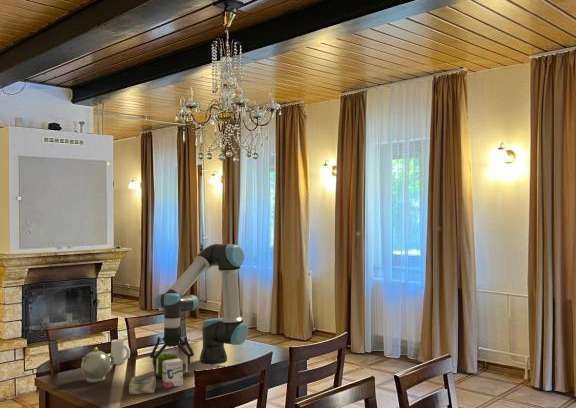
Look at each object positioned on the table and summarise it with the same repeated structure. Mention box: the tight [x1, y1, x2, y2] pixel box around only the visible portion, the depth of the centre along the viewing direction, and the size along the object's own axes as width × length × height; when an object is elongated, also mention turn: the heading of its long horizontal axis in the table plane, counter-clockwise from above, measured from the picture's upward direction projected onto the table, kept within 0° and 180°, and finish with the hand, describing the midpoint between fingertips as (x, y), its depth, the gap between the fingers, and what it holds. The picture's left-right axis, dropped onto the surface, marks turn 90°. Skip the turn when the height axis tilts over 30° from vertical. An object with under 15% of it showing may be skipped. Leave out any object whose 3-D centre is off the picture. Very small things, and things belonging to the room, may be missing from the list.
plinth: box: [128, 375, 157, 395], centre depth 265 cm, size 11×13×4 cm
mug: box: [110, 338, 131, 365], centre depth 315 cm, size 8×12×12 cm
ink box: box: [162, 357, 184, 389], centre depth 271 cm, size 8×5×12 cm, turn 123°
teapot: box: [80, 346, 115, 384], centre depth 281 cm, size 18×14×16 cm
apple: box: [152, 353, 178, 378], centre depth 287 cm, size 12×12×11 cm
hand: (172, 372), depth 270 cm, fingers open, 13 cm apart
